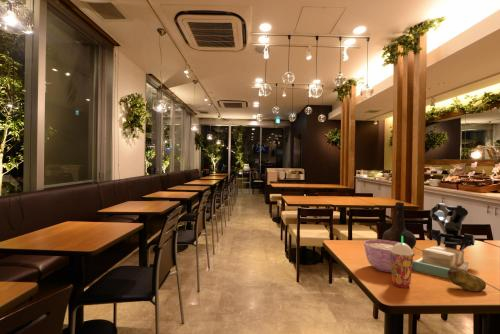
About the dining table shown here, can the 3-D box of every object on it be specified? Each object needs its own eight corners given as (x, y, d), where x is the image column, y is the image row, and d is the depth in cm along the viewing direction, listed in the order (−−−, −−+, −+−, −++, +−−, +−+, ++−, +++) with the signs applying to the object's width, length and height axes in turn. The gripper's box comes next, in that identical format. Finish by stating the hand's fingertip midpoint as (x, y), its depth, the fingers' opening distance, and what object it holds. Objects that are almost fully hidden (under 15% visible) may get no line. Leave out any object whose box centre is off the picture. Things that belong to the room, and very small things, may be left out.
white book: (426, 260, 160) (426, 252, 160) (468, 268, 147) (468, 260, 147) (411, 269, 144) (411, 261, 144) (456, 280, 131) (456, 271, 131)
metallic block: (436, 261, 159) (437, 245, 159) (463, 268, 149) (464, 250, 149) (422, 267, 149) (422, 249, 149) (449, 274, 140) (450, 255, 140)
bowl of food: (418, 276, 135) (419, 250, 135) (375, 276, 134) (375, 250, 133) (394, 262, 155) (395, 239, 155) (356, 262, 153) (356, 239, 153)
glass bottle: (396, 255, 167) (397, 204, 167) (375, 247, 185) (376, 200, 184) (423, 254, 171) (424, 204, 171) (400, 245, 189) (401, 200, 189)
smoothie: (385, 281, 128) (387, 233, 128) (404, 281, 129) (406, 233, 129) (397, 289, 120) (398, 238, 120) (417, 289, 121) (418, 238, 121)
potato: (487, 296, 115) (488, 275, 115) (447, 288, 122) (447, 268, 122) (485, 289, 122) (485, 269, 122) (446, 282, 129) (447, 263, 129)
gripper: (432, 214, 166) (425, 237, 158) (474, 218, 152) (469, 244, 145) (435, 226, 171) (429, 250, 163) (476, 232, 158) (472, 258, 150)
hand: (448, 250), depth 155 cm, fingers open, 9 cm apart
